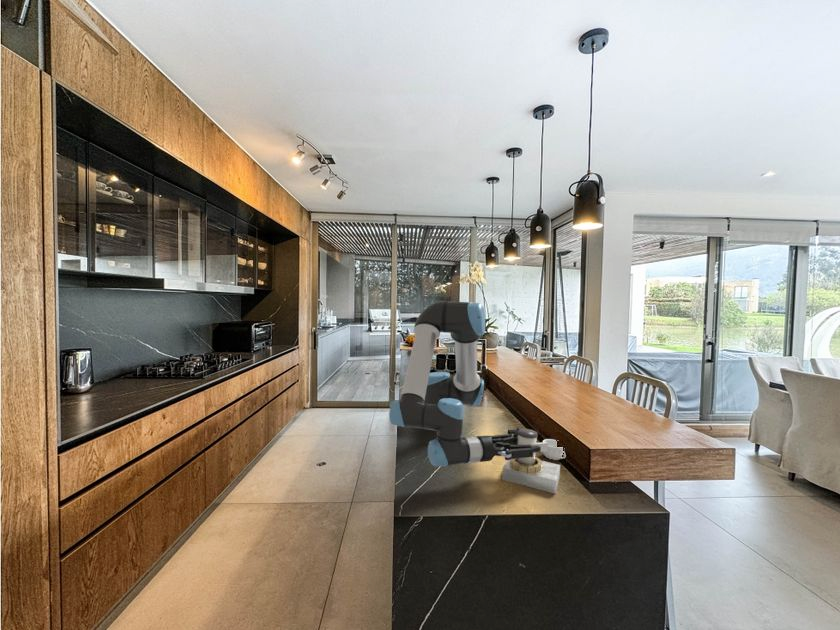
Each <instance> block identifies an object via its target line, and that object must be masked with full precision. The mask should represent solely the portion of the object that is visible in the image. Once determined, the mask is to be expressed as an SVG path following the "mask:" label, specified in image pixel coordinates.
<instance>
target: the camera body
mask: <svg viewBox="0 0 840 630" xmlns="http://www.w3.org/2000/svg"><path fill="white" fill-rule="evenodd" d="M560 474H561V464H558V463H554V462H550V461H549V462H548V461H545V460H541V459H540V458H539V457H537V456H535V465H534V466H528V465H523V464H520V463H518V462H517V458H516V459H510V460H506V462H505V464H504V466H503V467H502V478H501V479H502V481H506V482H509V483H513V484H515V485H516V484H517V485H520V484H521V486H524V485H525V487H528V488H533V489H535V490H540V491H544V492H546V493H551V494H556V493H557V489H558V486H559V480H560V477H561V476H560Z"/></svg>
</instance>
